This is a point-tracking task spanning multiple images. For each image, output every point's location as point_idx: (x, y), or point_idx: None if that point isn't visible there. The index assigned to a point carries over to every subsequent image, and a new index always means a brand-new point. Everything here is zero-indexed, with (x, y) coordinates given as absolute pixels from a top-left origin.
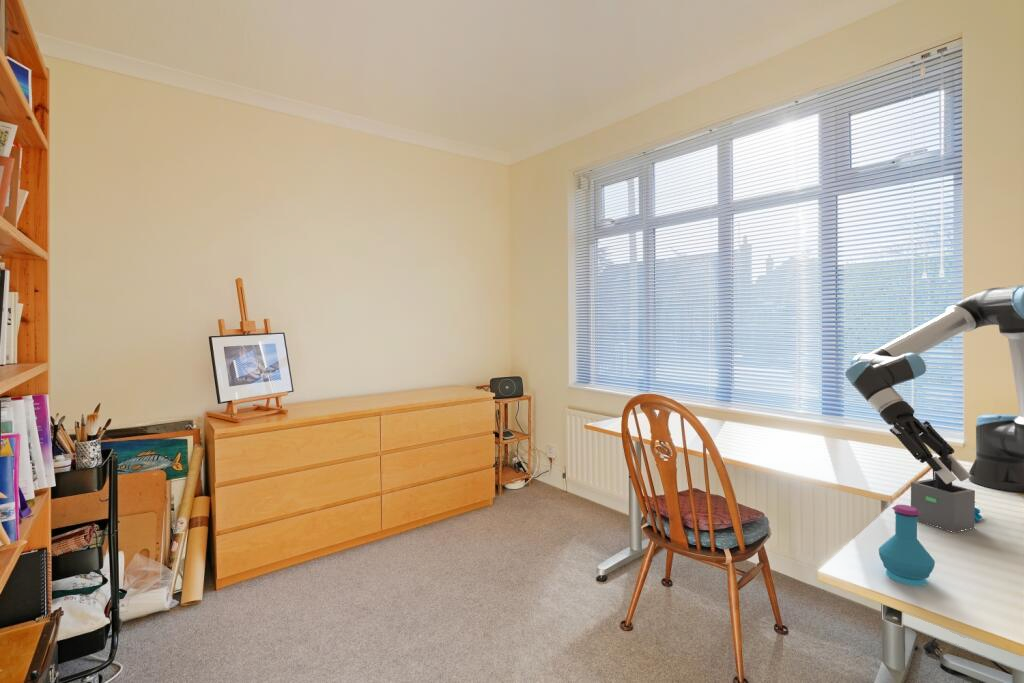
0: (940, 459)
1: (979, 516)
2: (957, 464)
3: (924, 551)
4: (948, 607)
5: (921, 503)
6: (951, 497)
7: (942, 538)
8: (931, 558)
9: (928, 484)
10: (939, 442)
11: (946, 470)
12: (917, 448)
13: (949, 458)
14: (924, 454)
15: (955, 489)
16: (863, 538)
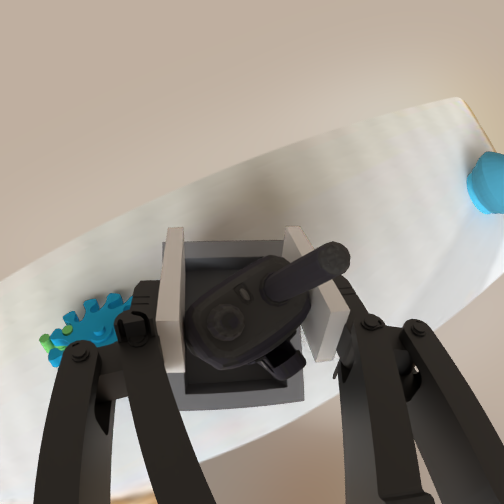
0: (288, 310)
1: (93, 301)
2: (181, 273)
3: (502, 154)
4: (477, 140)
5: None
6: None
7: None
8: (490, 153)
9: (211, 391)
10: (141, 427)
11: None
12: (450, 360)
13: (200, 306)
14: (421, 321)
15: None
16: (458, 309)
